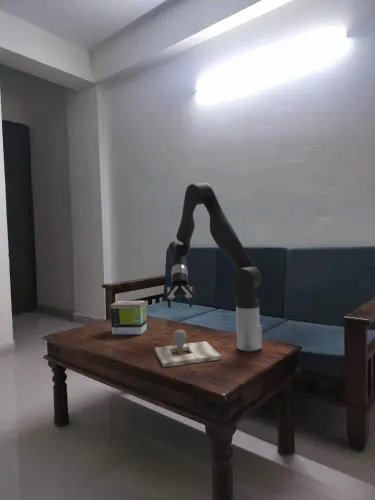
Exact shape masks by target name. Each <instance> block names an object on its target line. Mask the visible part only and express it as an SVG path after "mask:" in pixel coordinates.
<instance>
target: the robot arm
mask: <svg viewBox="0 0 375 500" xmlns="http://www.w3.org/2000/svg"><path fill="white" fill-rule="evenodd" d="M198 205H199V206H200V205H204V207H205V208H206V212H207V213H208V216H209V231H210V235H211V237H212V240H214V242H215V244H216V246H217V247H218V248H219V250H221V251H222V253H224V254H225V255H226V256H227V257H228V258H229V259H230V260H231V261H232V263H233V264H234V265H235V268H236V271H234V273H233V277H232V290H233V300H234V302H235V313H236V315H235V316H236V317H235V319H236V348H237V350H240V351H242V352H256V351H258V350H261V349H263V341H262V340H263V339H262V338H263V336H262V335H263V334H262V331H263V330H262V324H260V300H259V299H258V298H257V296H256V294H255V292H256V291H255V288H257V287H259V285H260V284H261V283H262V274H261V272H260V271H259V268H258V267H257V265H255V263H254V262H253V260H252V259H251V258H250V256H249V255H248V253H247V251H246V250H245V248H244V246H243V244H242V242H241V241H240V239H239V237H238V234H237V233H236V232H235V230H234V228H233V226H232V225H231V223H230V222H229V220H228V218H227V216H226V214H225V212H224V211H223V208H222V206H221V205H220V202H219V200H218V197H217V195H216V193H215V192H214V190H213V187H212V186H211V184H209V183H208V182H195V183H191V184H188V185H187V187H186V190H185V194H184V199H183V206H182V212H181V218H180V224H179V225H178V229H177V232H176V237H175V238H176V239H177V241H171V242H169V244H168V248H167V251H168V254H169V258H170V261H171V271H170V272H171V273H170V274H171V276H170V279H171V280H170V281H171V283H170V284H171V285H170V287H169V286H167V285H165V286H164V287H163V301H166V302H167V308H168V309H171V308H172V300H173V299H174V298H175V297H176V298H177V297H184V296H185V298H187V299H188V305H189V307H188V308H189V309H191V308H192V307H193V300H197V290H196V285H195V284H193V285H192V286H190V285H189V271H188V262H187V261H188V260H187V257H188V256H190V253H191V240H192V236H193V234H194V230H195V227H196V224H195V219H194V212H195V210H196V207H197V206H198ZM190 291H191V292H192V294H191V292H190ZM169 292H170V293H169ZM168 293H169V295H168Z"/></svg>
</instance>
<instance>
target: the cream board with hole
mask: <svg viewBox="0 0 375 500" xmlns="http://www.w3.org/2000/svg"><path fill="white" fill-rule="evenodd" d="M187 351H188V352H189V353H186V354H185V353H183V354H181V355H180V354H178V355H177V354H176V355H173V353H178V349H177V345H176V344H174V345H164V346H156V347H154V352H155V354H156V356H157V358H158V359H159V361H160V363H161V365H162V367H163V368H166V367H167V368H168V367H175V366H182V365H188V364H189V365H191V364H196V363H197V364H198V363H205V362H211V361H219V360H221V359H222V355H221V354H220V353H219V351H217V350H216V349H215V348H213V346H211V344H209V342H207V341H198V342H196V341H195V342H189V343H184V345H183V352H187Z"/></svg>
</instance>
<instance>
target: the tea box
mask: <svg viewBox="0 0 375 500" xmlns="http://www.w3.org/2000/svg"><path fill="white" fill-rule="evenodd" d="M146 304H147V303H146V300H117V301H115V302H113V303H111V304H109V306H110V308H109V309H110V322H111V323H110V325H111V334H112V335H142V334H143V333H144V332H146V331H147V328H148V327H147V326H148V325H147V323H148V322H147V308H146V307H147V306H146Z"/></svg>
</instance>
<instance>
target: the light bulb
mask: <svg viewBox="0 0 375 500" xmlns="http://www.w3.org/2000/svg"><path fill="white" fill-rule="evenodd" d="M187 336H188V335H187V333H186V331H185V330H183V329H177V330H175V331H174V332H173V334H172V339H173V342H174V343H175V345H177V349H178V352H177V354H178V355H184V351H183V345H184V344H186V342H187V338H188V337H187Z"/></svg>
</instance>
